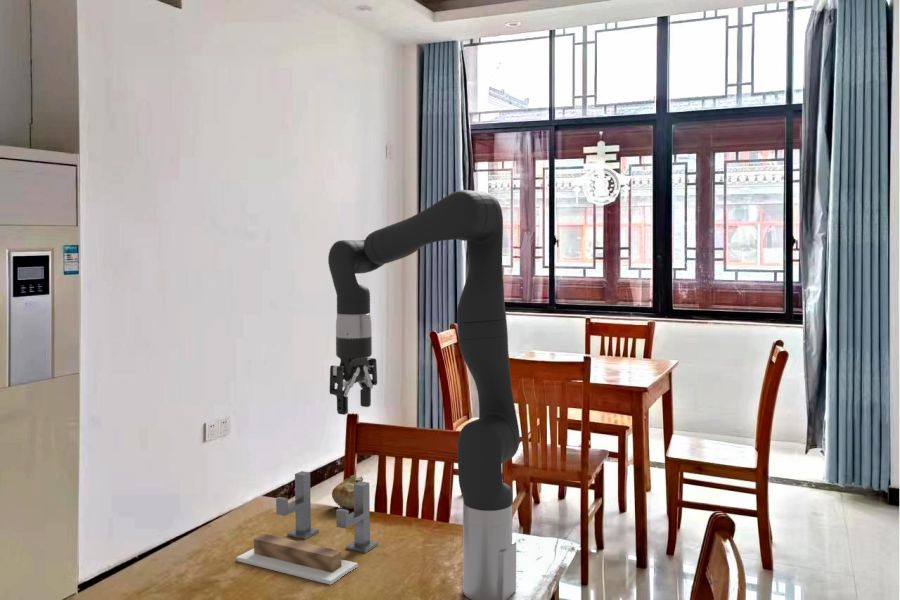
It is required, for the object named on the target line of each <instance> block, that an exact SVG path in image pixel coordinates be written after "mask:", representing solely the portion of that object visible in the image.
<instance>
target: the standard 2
mask: <svg viewBox="0 0 900 600" xmlns="http://www.w3.org/2000/svg"><path fill="white" fill-rule="evenodd" d="M370 493H371V492H370V482H368V481H367V482H366V481H359V482H357V483H355V484H354V508H353V511H352V512H350V511H349V510H350V509H345V508H337V509H336V512H335V513H336V514H335V515H336V518H335V520H336V522H335V523H336V528H340V529H345V530H346V529H349V528H350V527H352V526H353V531H354V532H353V534H354V535H353V536H354V539H353V540H354V541H352V542H350V543H349V544H347V545H345V549H346V550H350V551H354V552H359V553H364V554H366V553H368V552H369V551H371V550H372V549H374V548H376V547H377V546H378V545H379V541H375V540H371V532H370V531H371V523H370V521H371V519H370V517H371V515H370V514H371V512H370V509H371V508H370V506H371V505H370V503H371V502H370V498H371V497H370Z"/></svg>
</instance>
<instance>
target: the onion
mask: <svg viewBox="0 0 900 600" xmlns="http://www.w3.org/2000/svg"><path fill="white" fill-rule="evenodd" d="M359 481H362V482H364V478H363V476H362V475H361V476H359V477H358V476H357V475H355V474H354V475H350V476H349V477H346V478H345V479H344V480H343V481H341V482H340V483H338V484H337V485H335V487H334V488H333V489H332V492H331V498H332V499H333V501H334V503H335V504H336V505H337V506H339V507H340V509H345V510H350V509H351V510H352V509H354V484H355V483H357V482H359Z"/></svg>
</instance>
